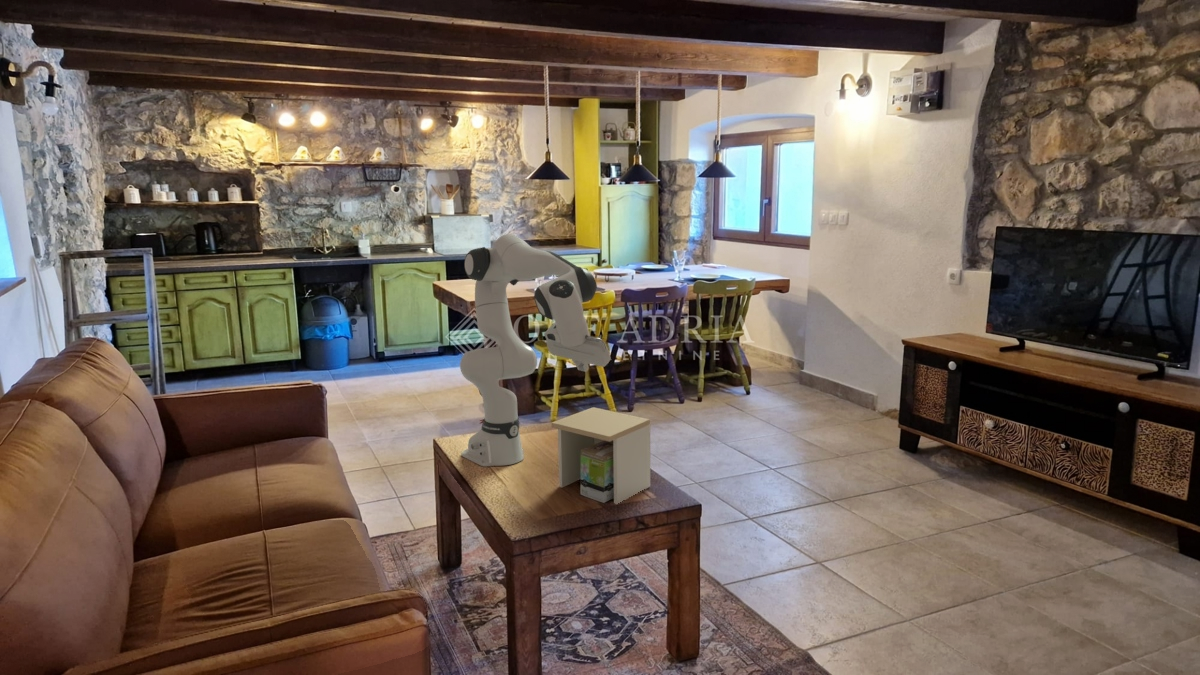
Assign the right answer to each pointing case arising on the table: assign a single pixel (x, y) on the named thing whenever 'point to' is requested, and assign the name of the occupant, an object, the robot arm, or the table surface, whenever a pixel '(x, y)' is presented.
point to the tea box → (597, 471)
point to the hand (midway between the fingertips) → (583, 369)
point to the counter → (627, 448)
